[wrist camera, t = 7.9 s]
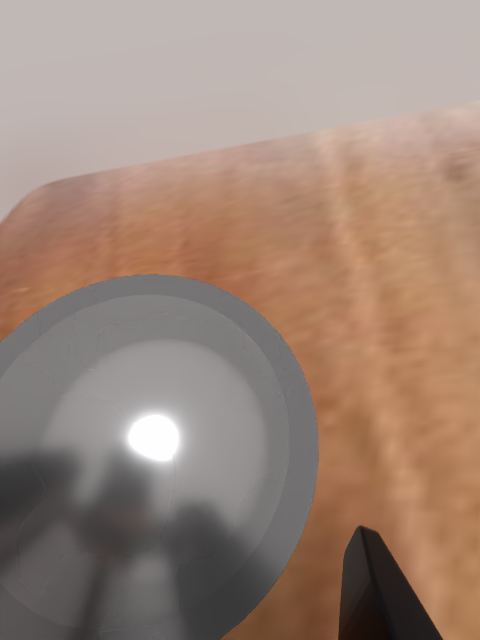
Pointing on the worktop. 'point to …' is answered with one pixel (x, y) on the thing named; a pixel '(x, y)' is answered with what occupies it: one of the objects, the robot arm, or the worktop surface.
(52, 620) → the metal knob
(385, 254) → the worktop surface
